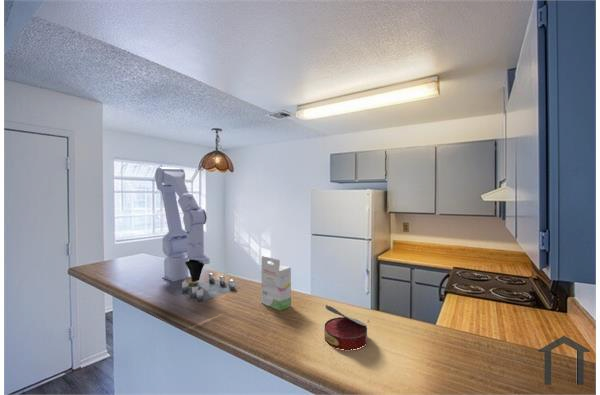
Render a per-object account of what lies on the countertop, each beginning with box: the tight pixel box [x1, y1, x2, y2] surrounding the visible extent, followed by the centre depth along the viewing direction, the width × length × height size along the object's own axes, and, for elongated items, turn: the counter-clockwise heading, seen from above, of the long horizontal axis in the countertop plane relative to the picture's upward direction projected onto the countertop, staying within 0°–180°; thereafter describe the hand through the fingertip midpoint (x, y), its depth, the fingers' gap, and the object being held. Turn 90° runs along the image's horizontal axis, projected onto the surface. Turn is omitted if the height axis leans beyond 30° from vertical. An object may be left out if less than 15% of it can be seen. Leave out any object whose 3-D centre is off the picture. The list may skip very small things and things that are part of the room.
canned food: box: [324, 304, 368, 351], centre depth 67 cm, size 11×10×10 cm
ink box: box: [260, 255, 292, 312], centre depth 86 cm, size 9×5×15 cm, turn 47°
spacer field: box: [174, 272, 241, 303], centre depth 98 cm, size 15×16×4 cm
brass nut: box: [183, 277, 199, 286], centre depth 104 cm, size 5×5×2 cm
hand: (195, 280), depth 102 cm, fingers closed
